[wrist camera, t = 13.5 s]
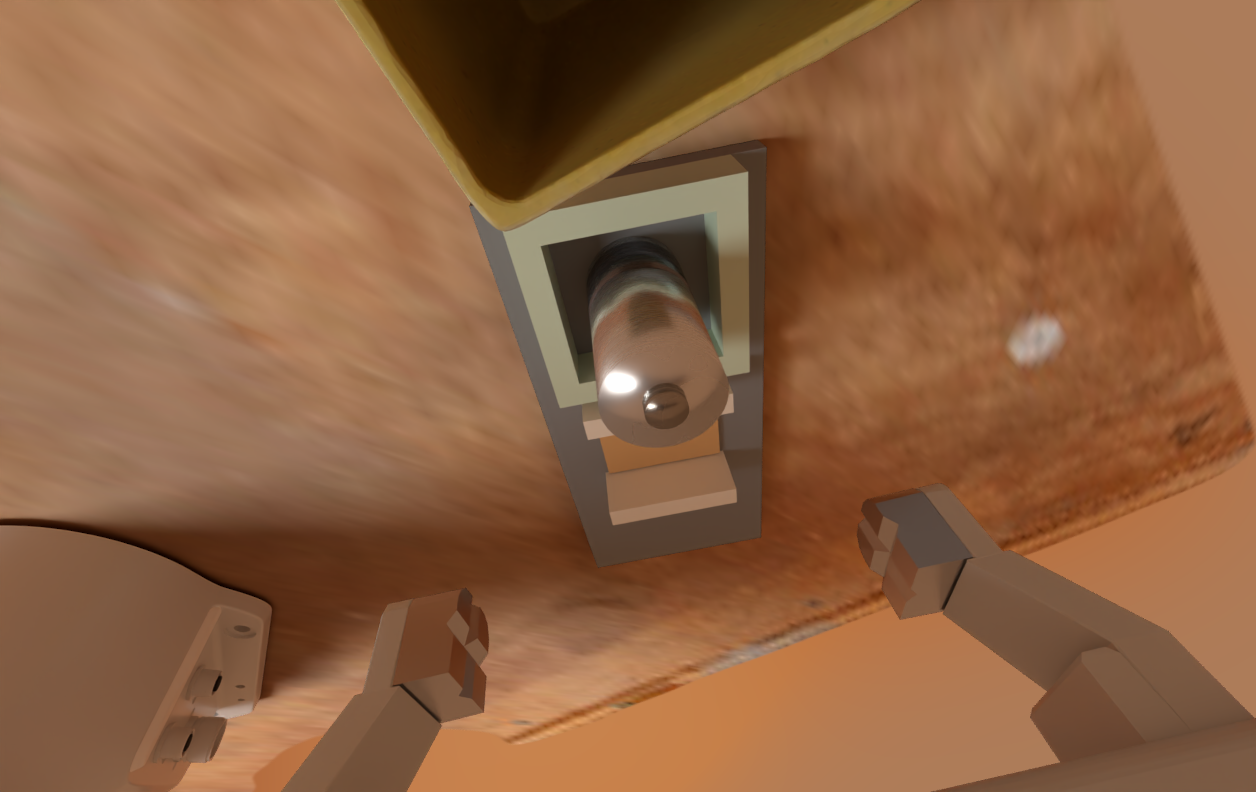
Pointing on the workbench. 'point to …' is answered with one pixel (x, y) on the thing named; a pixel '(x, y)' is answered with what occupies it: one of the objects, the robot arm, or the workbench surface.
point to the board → (566, 424)
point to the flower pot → (585, 79)
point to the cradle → (662, 472)
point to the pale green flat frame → (628, 205)
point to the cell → (651, 347)
